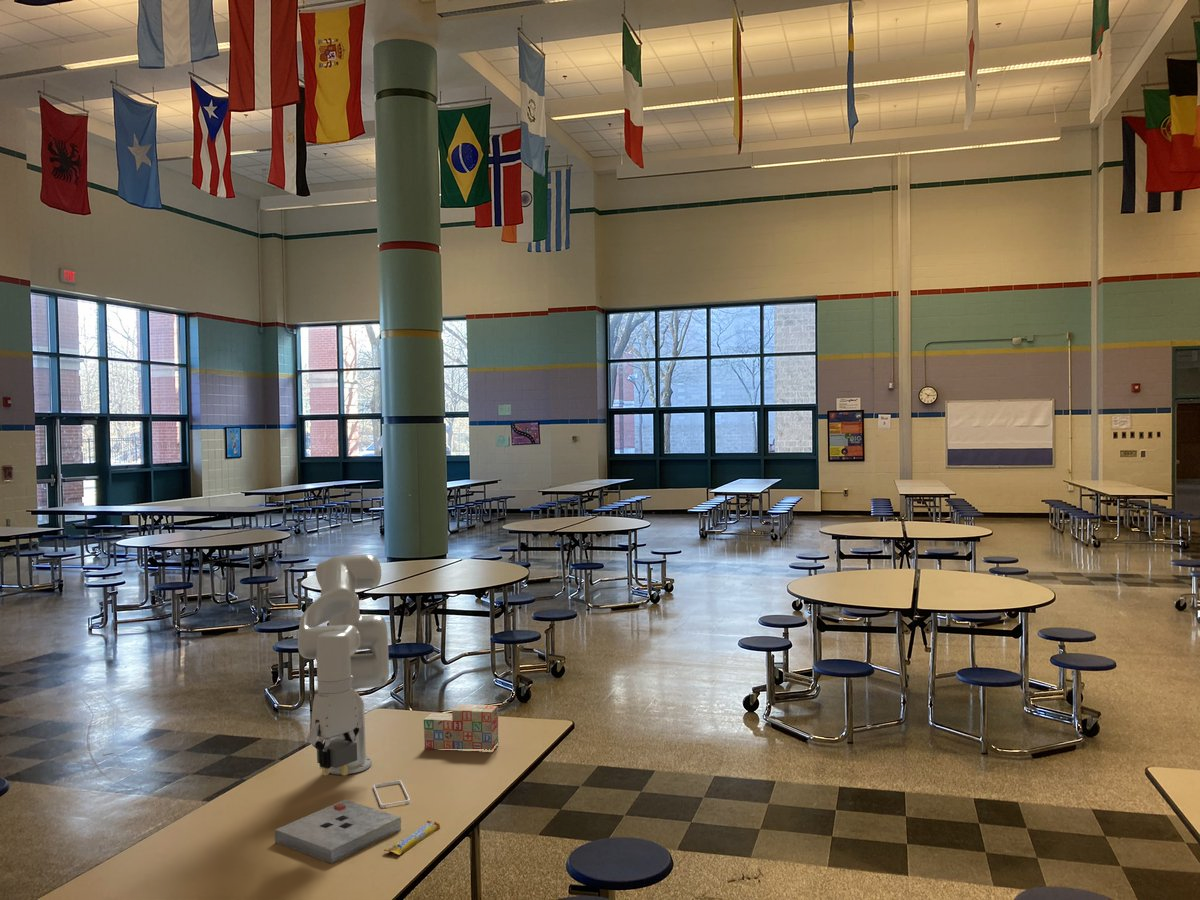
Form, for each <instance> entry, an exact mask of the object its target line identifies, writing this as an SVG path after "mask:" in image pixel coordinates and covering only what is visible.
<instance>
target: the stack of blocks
mask: <svg viewBox="0 0 1200 900" xmlns="http://www.w3.org/2000/svg"><path fill="white" fill-rule="evenodd" d="M498 708H499V707H498V705H488V704H462V703H461V704H460V703H459V704H458V705H456V706H455V707H454V708H453V709H452V711H451V713H437V712H431V713H430V714H428V715H427V716H426V717H425V718H423V731H424V732H423V735H424V750H428V749H484V750H485V749H487V750H489V749H490V750H492V749H493V748H494V746H495V745H496V744H497V743H498V744H499V711H498V710H499V709H498Z"/></svg>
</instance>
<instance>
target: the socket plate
mask: <svg viewBox="0 0 1200 900" xmlns="http://www.w3.org/2000/svg"><path fill="white" fill-rule="evenodd" d="M401 820H402V819H401V816H399V815H395V814H392V813H389V812H387V811H382V810H380V809H376V808H373V807H370V806H367V805H365V804H364V805H363V804H362V803H361V804H360V803H357V802H353V801H351V800H348V799H343V800H341V801H338V802H336V803H333V804H331V805H329V806H327V807H324V808H322V809H320V810H318V811H315V812H313V813H309V814H308V815H306V816H304V817H301V818H299V819H296V820H293V821H292V822H289V823H287V824H285V825H283V826H280V827H278V828H276V829H274V839H275V843H276V844H278V845H281V846H283V847H286V848H289V849H291V850H294V851H295V852H296V851H297V852H299V853H302V854H304V855H308V856H309V857H313V858H315V859H318V860H321V861H323V862H325V863H329V864H332V865H333V864H335V863H337V862H339V861H341V860H343V859H345V858H347V857H349V856H351V855H353V854H355V853H357V852H359V851H361V850H362V849H365V848H367V847H369V846H371V845H373V844H376V843H377V842H379V841H381V840H383V839H384V838H387V837H389V836H391V835H393V834H395V833H398V832H399V831H401V830H402V821H401Z"/></svg>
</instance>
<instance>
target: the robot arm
mask: <svg viewBox="0 0 1200 900" xmlns="http://www.w3.org/2000/svg"><path fill="white" fill-rule="evenodd" d="M315 577H316V581H317V583H318V585H319V587H320V597H318V598H317V599H315V600H314V601H313V602H312V603H311V604H310V605H309V606H308V607H307V608H306V610H305V611H304V612H303V614H302V616H301V617H300V620H299V627H298V633H297V634H298V635H297V636H298V637H297V649H298V652H299V655H300V656H301V657H302V658H304V659H306V660H309V659H310V660H313V659H314V660H315V659H316V675H317V678H316V679H317V682H316V683H317V693H315V694H314V698H313V702H312V710H311V730H310V732H309V734H308V735H307V738H306V741H307V742H308V743H309V744H310V745H312V747H314V748H315V749H316V751H317V750H319V763H318V764H319V767H321V768H322V767H323V768H327V769H328V768H329V774H331V775H339V776H340V775H341V776H343V775H342V774H341V769H338V768H334V767H330V751H328V747H329V743H330V741H331V740H334V739H337V738H339V739H343V740H347V741H351V742H355V743H357V760H356V761H354V762H351V763H348V774H347V775H351V774H356V773H360V772H363V771H366V770H367V769H369V768H371V766H372V764H373V763H372V761H373V760H372V758H371V757H369V756H367V751H366V750H367V749H366V747H367V746H366V718H365V717H366V716H365V715H366V714H365V713H366V712H365V702H364V700H363V699H362V697H361V696H360V694H359V693H358V692H357V691H356V690H359V689H370V688H371V689H372V688H379V687H383V686H385V685H386V684H387V683H388V682H389V677H390V663H389V662H390V660H389V659H390V658H389V638H388V636H389V634H388V626H387V622H386V620H385V618H384V617H383V616H382V615H378V614H373V615H372V614H370V615H369V614H368V615H361V613H360V598H359V596H358V594H357V593H356V590H360V589H361V590H363V589H375V588H377V587H378V586H379V585H380V583H381V580H382V566H381V562H380V561H379V558H377V556H375V555H373V554H353V555H338V556H337V555H336V556H333V557H331V558H329V559H328V560H324V561H321V562H318V564H317V565H316V567H315ZM326 622H328V625H321V624H324V623H326ZM320 625H321V626H320ZM365 650H369V651H371V653H360V654H358V653H357V651H365ZM317 737H318V738H317ZM323 743H324V745H323Z"/></svg>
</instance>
